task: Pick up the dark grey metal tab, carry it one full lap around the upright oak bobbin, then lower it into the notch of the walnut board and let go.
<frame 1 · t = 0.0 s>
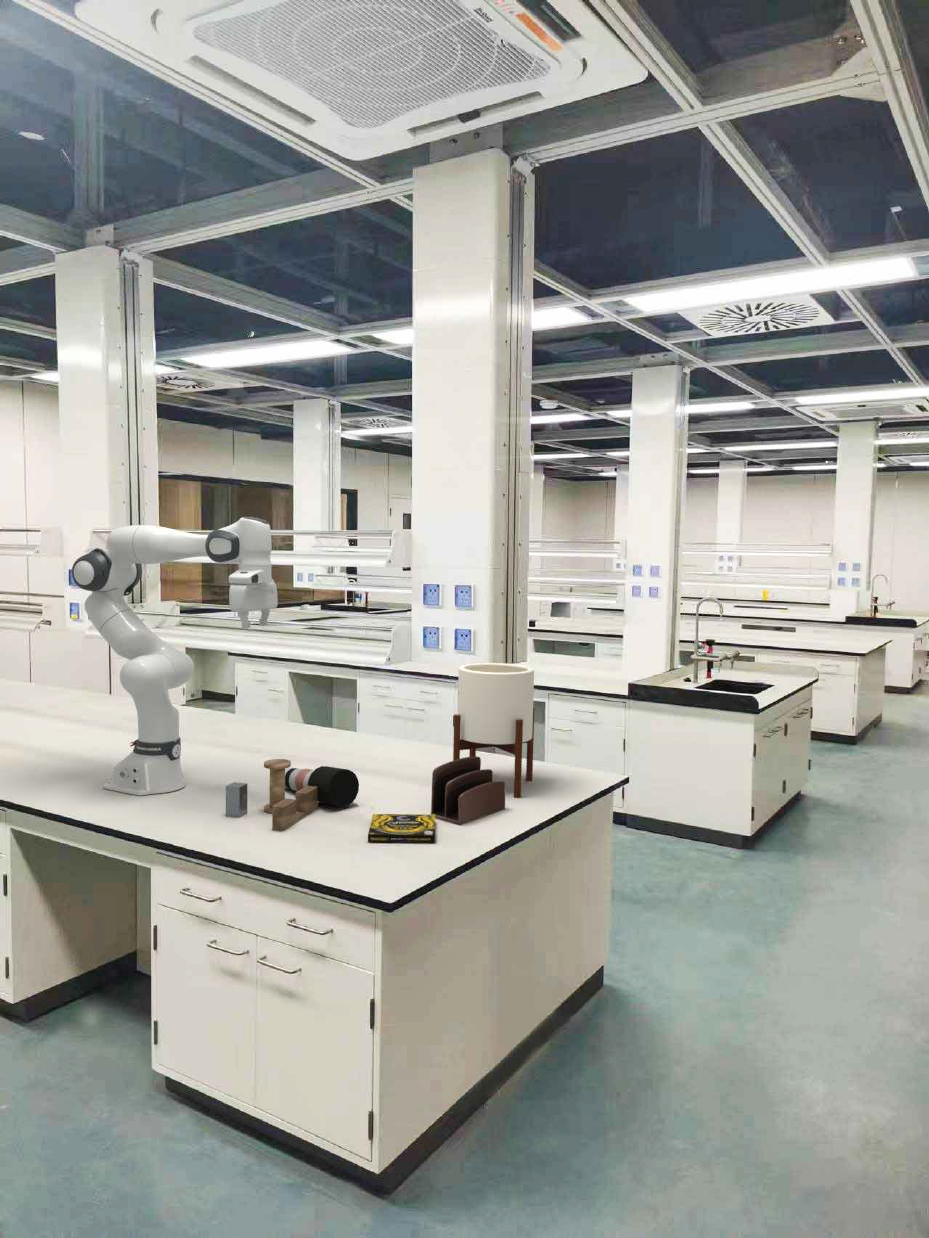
hand: (254, 626, 232), 48 cm above the table, fingers open, 8 cm apart
tab: (236, 814, 220), on the table
bobbin: (277, 810, 225), on the table
letter holder: (468, 814, 226), on the table
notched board: (295, 818, 218), on the table
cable: (309, 796, 239), on the table
plant pot with stand: (493, 786, 253), on the table
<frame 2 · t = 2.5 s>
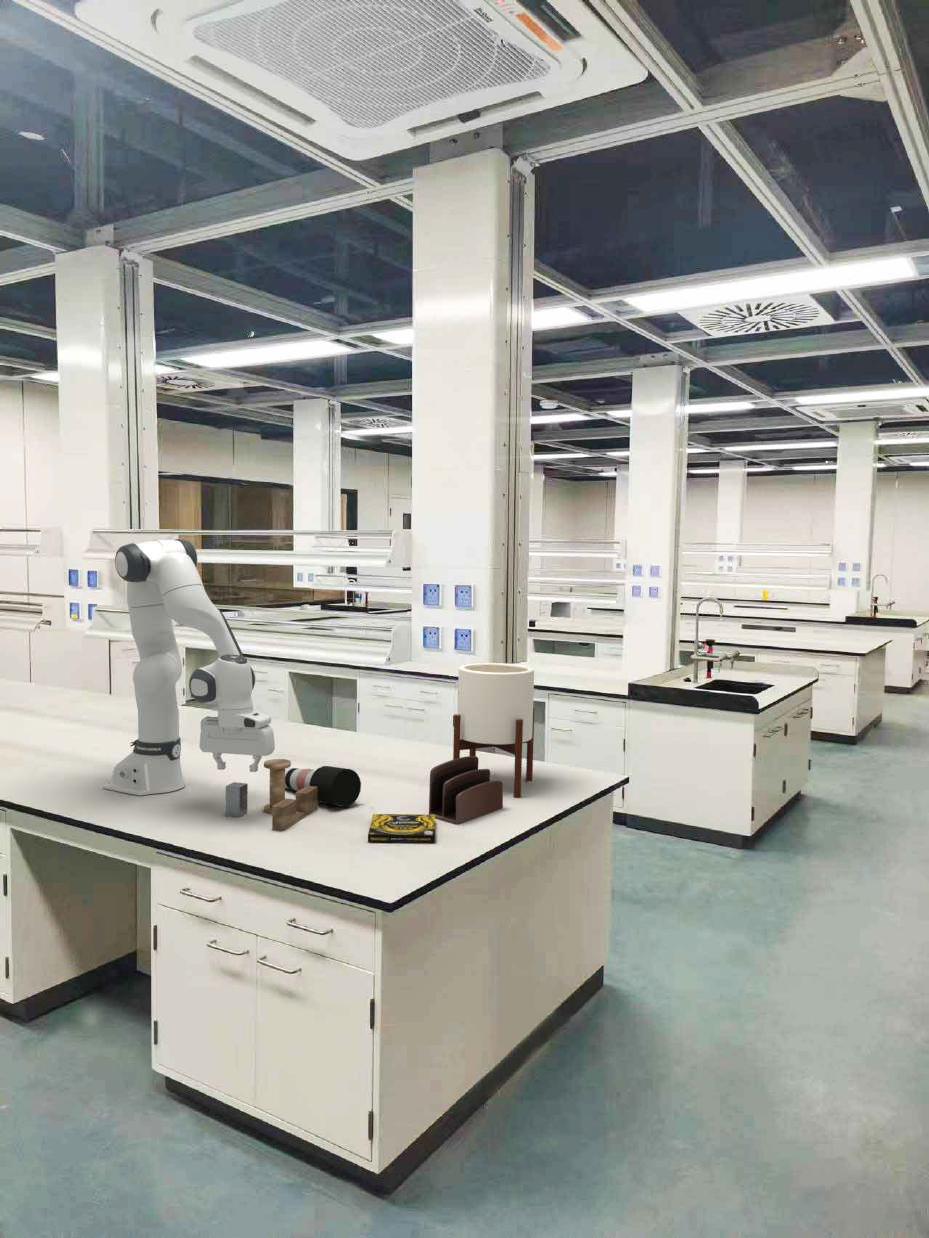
hand: (237, 770, 219), 12 cm above the table, fingers open, 8 cm apart
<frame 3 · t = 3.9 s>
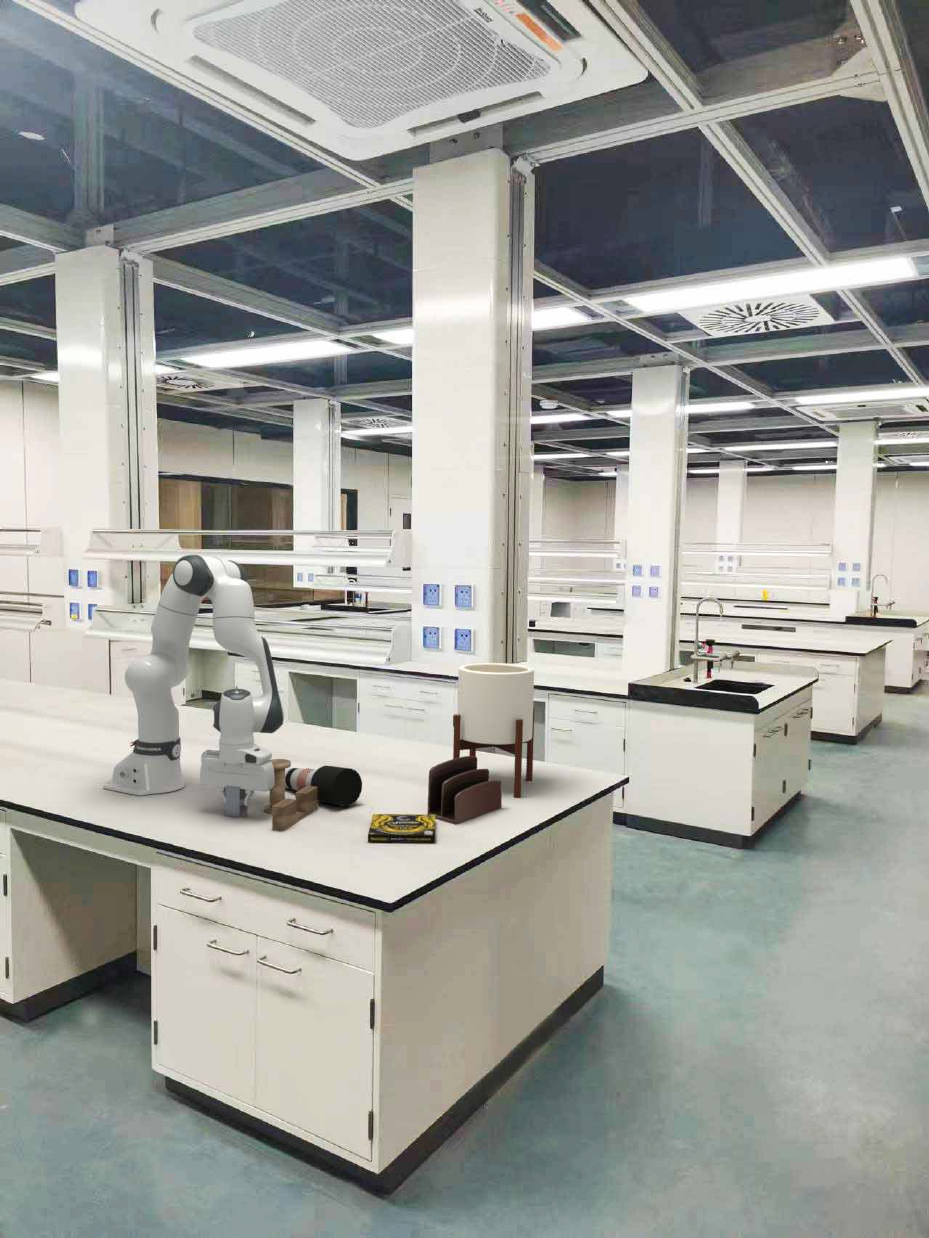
hand: (236, 804, 220), 3 cm above the table, fingers closed on tab, 4 cm apart
tab: (236, 814, 220), on the table, touching gripper
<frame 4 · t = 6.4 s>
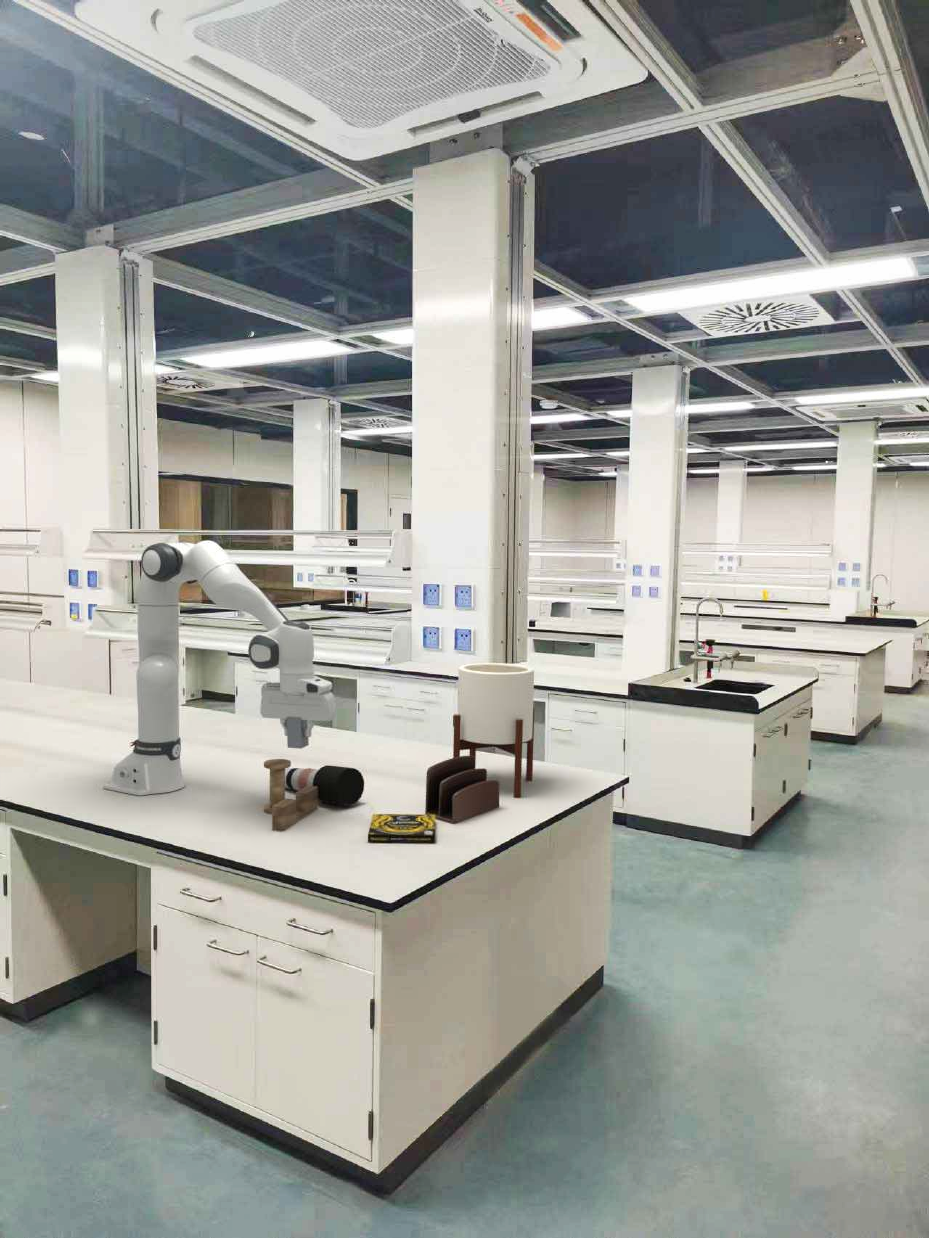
hand: (298, 736, 219), 21 cm above the table, fingers closed on tab, 4 cm apart
tab: (298, 746, 220), point 18 cm above the table, touching gripper
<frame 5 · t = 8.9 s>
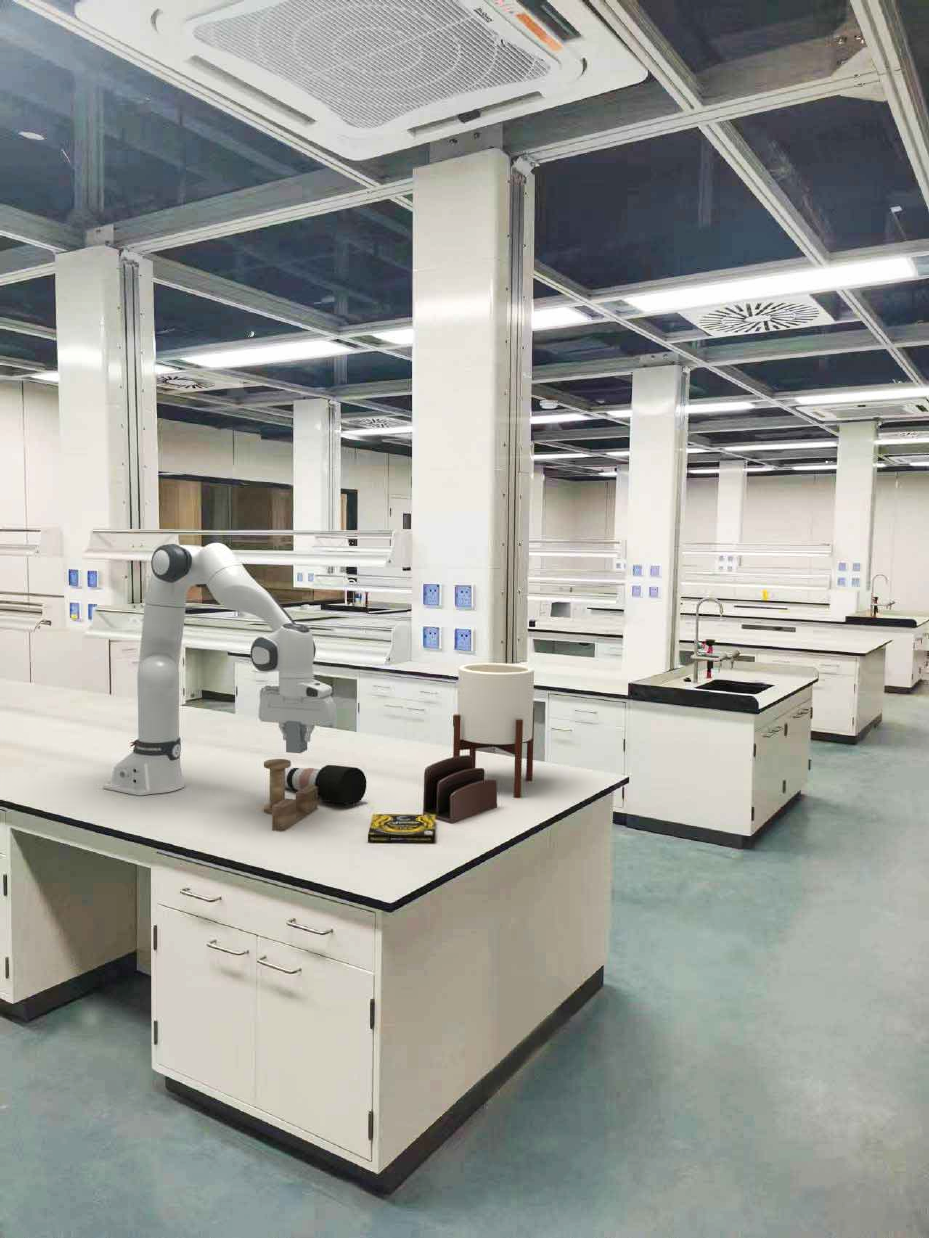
hand: (296, 740, 216), 20 cm above the table, fingers closed on tab, 4 cm apart
tab: (296, 751, 216), point 18 cm above the table, touching gripper
when the fingers open (5 cm above the table, at t = 12.1 s): tab drops 1 cm, resting on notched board.
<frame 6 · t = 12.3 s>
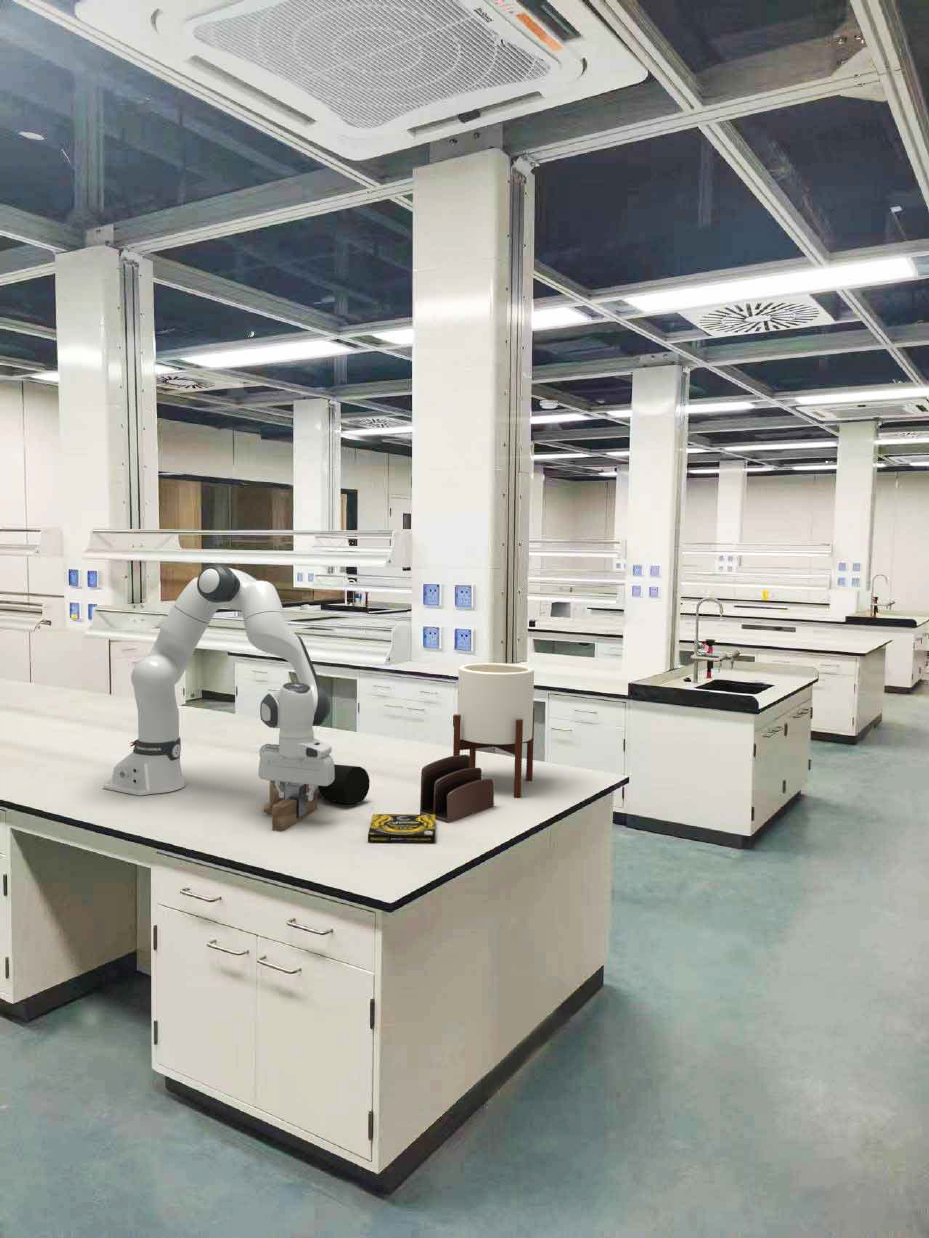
hand: (295, 799, 217), 5 cm above the table, fingers open, 6 cm apart
tab: (295, 814, 218), point 1 cm above the table, touching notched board
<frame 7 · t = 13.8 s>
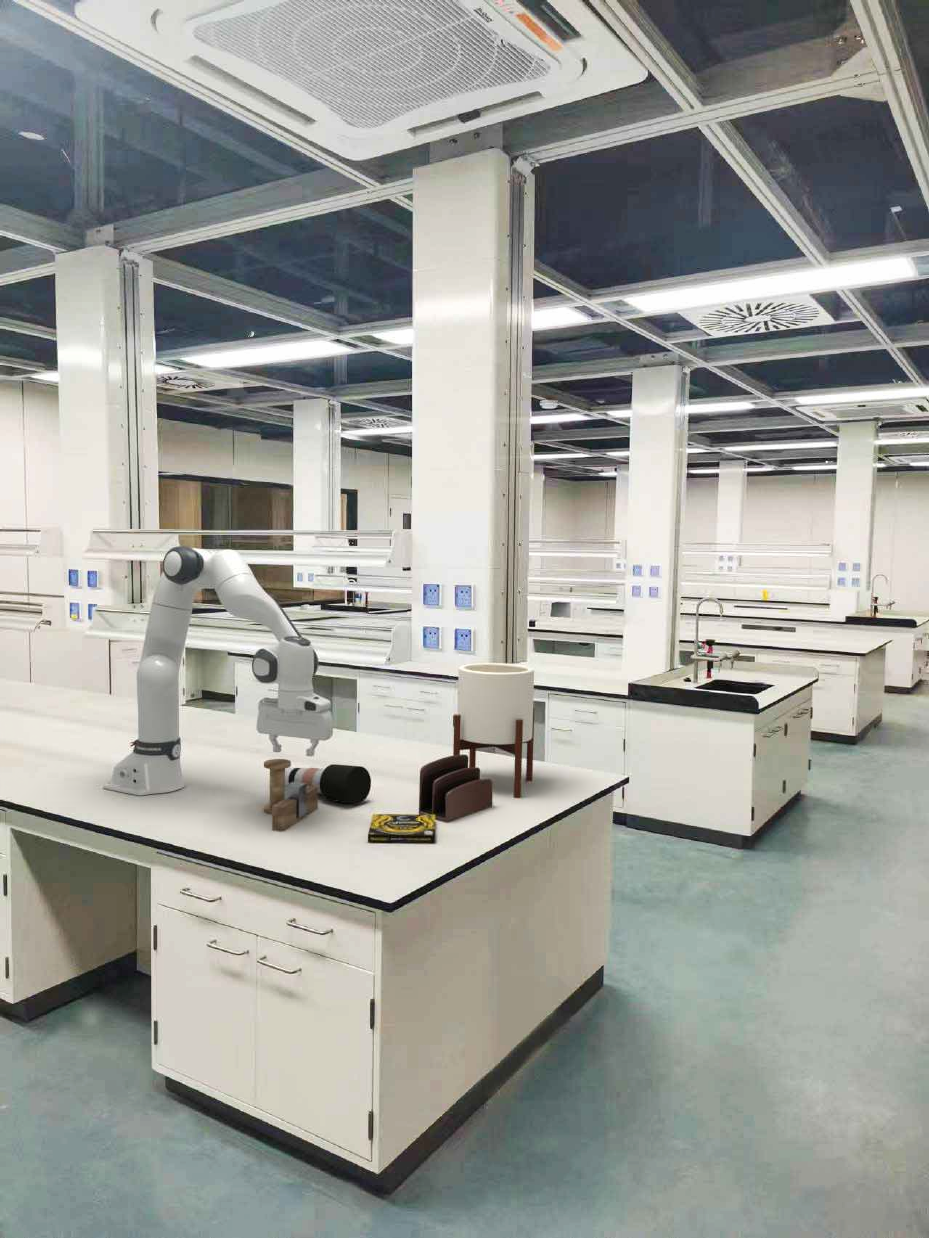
hand: (293, 753, 216), 17 cm above the table, fingers open, 8 cm apart
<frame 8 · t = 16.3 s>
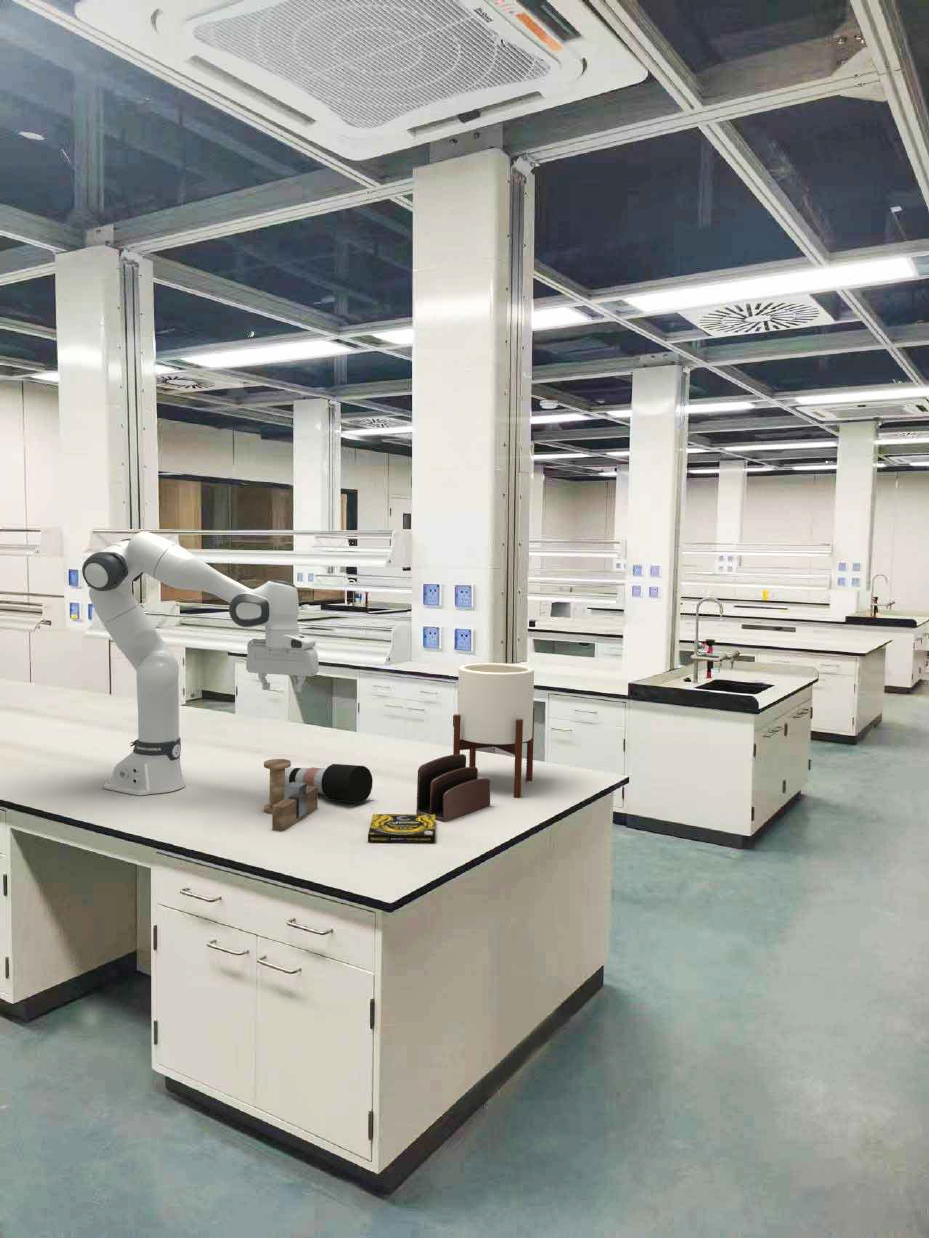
hand: (281, 690, 228), 31 cm above the table, fingers open, 8 cm apart
at the end: tab 0.1 cm off-centre on the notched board, point 1.0 cm above the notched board's base; tab tilted 0°; the gripper is holding nothing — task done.
